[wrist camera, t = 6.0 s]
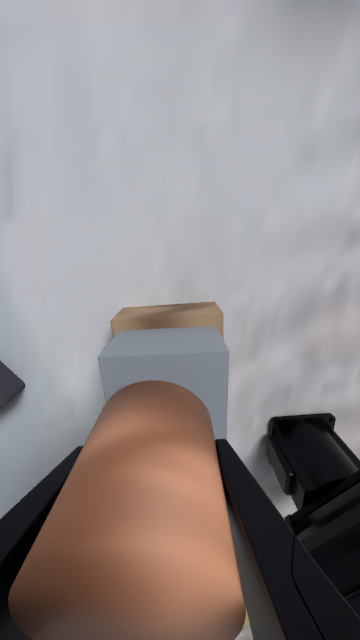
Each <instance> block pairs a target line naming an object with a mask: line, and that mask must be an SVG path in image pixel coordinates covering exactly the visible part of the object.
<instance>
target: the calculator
mask: <svg viewBox="0 0 360 640" xmlns="http://www.w3.org/2000/svg"><path fill="white" fill-rule="evenodd" d="M23 388H25V383H24V382H23V381H22V380H21V379H20V378H19V377H17V376H16V375H15V374H14V373H13V372H12V371H11V370H10V369H9V368H8V367H7V366H6V365H4V364H3V363H2V362H1V361H0V408H1V407H2V406H4V405H5V404H6V403H8V402H9V401H10V400H11V399H12V398H13V397H14V396H16V395H17V394H18V393H19V392H20V391H21V390H22V389H23Z"/></svg>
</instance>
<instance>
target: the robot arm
mask: <svg viewBox="0 0 360 640" xmlns="http://www.w3.org/2000/svg"><path fill="white" fill-rule="evenodd" d="M335 420H336V419H335V417H334V416H333V415H332V414H331V413H325V414H311V415H296V416H282V417H274V418H272V420H271V428H270V436H269V437H268V446H267V456H268V460H269V463H270V464H271V465H272V467H273V469H274V471H275V474H276V476H277V478H278V480H279V483H280V485H281V487H282V489H283V492H284V493H285V494H286V495H291V497H292V499H293V501H294V503H295V505H296V507H297V510H298V511H296V512H295V513H293V514H292V515H290V514H289V515H288V516H286V517H285V520H284V518H283V517H282V516H281V514H280V513H279V512H278V510H277V509H276V507H275V506H274V505H273V503H272V502H271V500H270V499H269V498H268V496H267V495H266V494H265V492H264V491H263V489H262V488H261V487H260V485H259V484H258V483H257V481H256V480H255V478H254V477H253V476H252V474H251V473H250V472H249V470H248V469H247V467H246V466H245V465H244V463H243V462H242V461H241V459H240V458H239V456H238V455H237V454H236V452H235V451H234V449H233V448H232V447H231V445H230V444H229V443H228V441H227V440H226V439H224V438H223V439H216V440H215V443H216V449H217V454H218V460H219V465H220V471H221V476H222V482H223V487H224V493H225V498H226V503H227V509H228V514H229V520H230V525H231V531H232V536H233V542H234V547H235V553H236V558H237V563H238V569H239V574H240V580H241V585H242V591H243V596H244V601H245V606H246V610H247V614H248V618H249V623H250V627H251V631H252V635H253V639H254V640H360V460H359V459H358V458H357V456H356V455H355V454H354V453H353V452H352V451H351V450H350V449H349V447H348V446H347V445H346V444H345V443H344V442H343V441H342V439H341V438H340V437H339V436H338V435H337V434H336V433H335V431H334V425H335ZM83 447H84V446H78V447H77V448H76V449H75V450H74V451H73V452H72V453H71V454H69V455H68V456H67V457H66V458H65V459H64V460H63V461H62V462H61V463H60V464H59V465H58V466H57V467H56V468H55V469H53V470H52V471H51V472H50V473H49V474H48V475H47V476H46V477H45V478H44V479H43V480H42V481H41V482H40V483H38V484H37V485H36V486H35V487H34V488H33V489H32V490H31V491H30V492H29V493H28V494H27V495H26V496H25V497H24V498H22V499H21V500H20V501H19V502H18V503H17V504H16V505H15V506H14V507H13V508H12V509H11V510H10V511H9V512H8V513H6V514H5V515H4V516H3V517H2V518H1V519H0V640H32V639H30V638H29V637H28V636H27V635H26V634H25V633H24V632H23V631H22V630H21V629H19V627H18V626H17V624H16V623H15V622H14V620H13V618H12V616H11V614H10V611H9V606H8V596H9V592H10V589H11V587H12V585H13V583H14V581H15V579H16V577H17V575H18V573H19V571H20V569H21V567H22V565H23V563H24V561H25V559H26V557H27V556H28V554H29V552H30V550H31V548H32V546H33V544H34V542H35V540H36V538H37V536H38V534H39V532H40V530H41V528H42V526H43V524H44V522H45V521H46V519H47V517H48V515H49V513H50V511H51V509H52V507H53V505H54V503H55V501H56V499H57V497H58V495H59V493H60V491H61V489H62V487H63V485H64V484H65V482H66V480H67V478H68V476H69V474H70V472H71V470H72V468H73V466H74V464H75V462H76V460H77V458H78V456H79V454H80V452H81V450H82V449H83Z"/></svg>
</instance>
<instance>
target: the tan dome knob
mask: <svg viewBox="0 0 360 640" xmlns="http://www.w3.org/2000/svg"><path fill="white" fill-rule="evenodd" d="M8 606H9V611H10V614H11V616H12V618H13V620H14V622H15V623H16V624H17V626H18V627H19V629H21V630H22V631H23V632H24V633H25V634H26V635H27V636H28V637H29V638H30V639H32V640H234V639H235V638H236V637H237V636H238V634H239V633H240V631H241V630H242V628H243V625H244V623H245V618H246V608H245V602H244V596H243V591H242V585H241V580H240V574H239V569H238V563H237V558H236V553H235V547H234V542H233V536H232V531H231V525H230V520H229V514H228V509H227V503H226V498H225V493H224V487H223V482H222V476H221V471H220V465H219V460H218V454H217V449H216V443H215V438H214V433H213V427H212V422H211V417H210V414H209V412H208V410H207V408H206V406H205V405H204V403H203V402H202V401H201V400H200V399H199V397H197V396H196V395H195V394H194V393H193V392H191V391H190V390H188V389H186V388H184V387H182V386H180V385H177V384H174V383H171V382H166V381H158V380H149V381H141V382H137V383H133V384H130V385H128V386H126V387H124V388H122V389H120V390H119V391H117V392H116V393H115V394H114V395H113V396H111V397H110V399H109V400H108V401H107V402H106V404H105V406H104V408H103V410H102V412H101V413H100V415H99V417H98V419H97V421H96V423H95V425H94V427H93V429H92V431H91V433H90V435H89V437H88V439H87V441H86V443H85V445H84V447H83V449H82V450H81V452H80V454H79V456H78V458H77V460H76V462H75V464H74V466H73V468H72V470H71V472H70V474H69V476H68V478H67V480H66V482H65V484H64V485H63V487H62V489H61V491H60V493H59V495H58V497H57V499H56V501H55V503H54V505H53V507H52V509H51V511H50V513H49V515H48V517H47V519H46V521H45V522H44V524H43V526H42V528H41V530H40V532H39V534H38V536H37V538H36V540H35V542H34V544H33V546H32V548H31V550H30V552H29V554H28V556H27V557H26V559H25V561H24V563H23V565H22V567H21V569H20V571H19V573H18V575H17V577H16V579H15V581H14V583H13V585H12V587H11V589H10V592H9V596H8Z"/></svg>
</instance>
